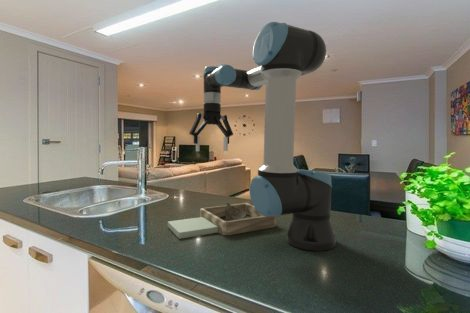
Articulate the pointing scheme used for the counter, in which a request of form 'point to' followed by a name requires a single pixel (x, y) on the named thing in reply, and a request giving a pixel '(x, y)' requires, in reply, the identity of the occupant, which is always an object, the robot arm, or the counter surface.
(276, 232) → the counter surface
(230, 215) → the rock
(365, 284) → the counter surface
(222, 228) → the wooden tray
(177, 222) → the ledge
